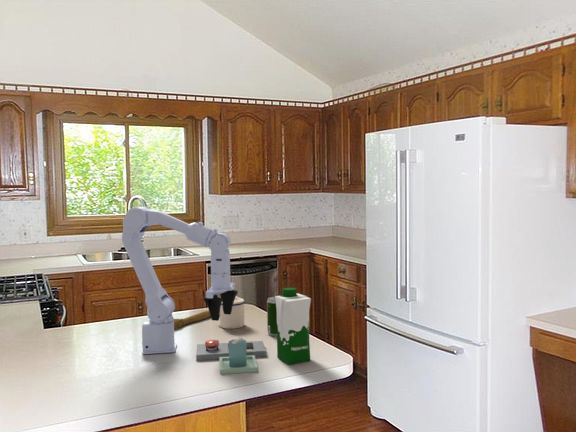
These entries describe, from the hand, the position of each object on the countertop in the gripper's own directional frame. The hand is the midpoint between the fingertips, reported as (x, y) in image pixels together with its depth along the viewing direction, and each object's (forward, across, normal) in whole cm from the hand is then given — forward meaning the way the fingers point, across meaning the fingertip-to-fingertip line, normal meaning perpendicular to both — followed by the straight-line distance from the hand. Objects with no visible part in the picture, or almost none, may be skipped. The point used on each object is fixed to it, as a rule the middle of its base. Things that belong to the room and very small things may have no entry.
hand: (221, 317), depth 157 cm
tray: (+10, -12, -12) cm, 19 cm away
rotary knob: (+9, -12, -11) cm, 19 cm away
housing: (+10, -2, -4) cm, 11 cm away
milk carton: (+10, -1, -24) cm, 26 cm away
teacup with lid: (+10, +25, +11) cm, 29 cm away
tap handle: (+10, +20, +26) cm, 35 cm away
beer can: (+10, +20, -9) cm, 24 cm away
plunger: (+10, -5, +1) cm, 11 cm away
